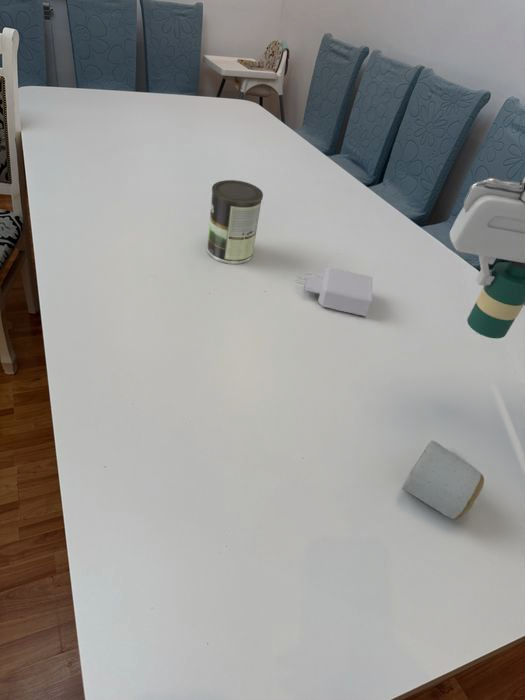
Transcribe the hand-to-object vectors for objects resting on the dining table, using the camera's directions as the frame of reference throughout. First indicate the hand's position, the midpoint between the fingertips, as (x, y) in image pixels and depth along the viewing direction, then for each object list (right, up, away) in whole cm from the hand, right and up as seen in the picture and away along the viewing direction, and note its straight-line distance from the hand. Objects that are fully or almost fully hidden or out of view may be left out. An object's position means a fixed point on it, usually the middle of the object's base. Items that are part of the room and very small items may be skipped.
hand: (508, 288), depth 67 cm
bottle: (-1, -5, +4) cm, 7 cm away
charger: (-20, +2, +34) cm, 39 cm away
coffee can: (-40, +13, +41) cm, 59 cm away
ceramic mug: (-10, -28, +1) cm, 29 cm away
